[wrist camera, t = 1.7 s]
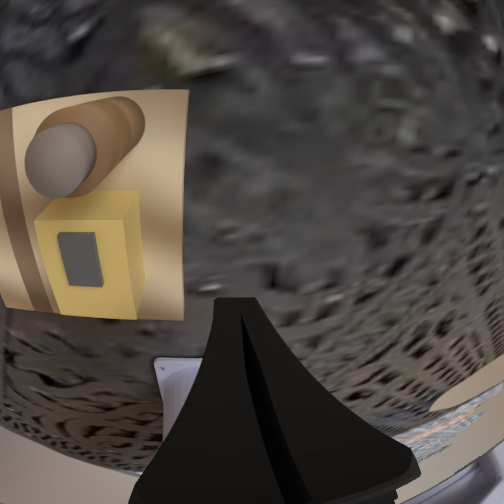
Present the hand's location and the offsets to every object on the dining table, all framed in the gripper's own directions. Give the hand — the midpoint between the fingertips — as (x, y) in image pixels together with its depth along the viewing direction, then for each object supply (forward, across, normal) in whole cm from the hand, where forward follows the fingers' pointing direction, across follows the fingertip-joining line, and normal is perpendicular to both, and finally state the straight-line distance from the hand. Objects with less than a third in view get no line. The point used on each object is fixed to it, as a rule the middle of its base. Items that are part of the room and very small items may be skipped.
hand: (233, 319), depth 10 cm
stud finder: (+5, +6, 0) cm, 8 cm away
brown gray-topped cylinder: (+5, +5, -5) cm, 9 cm away
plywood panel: (+7, +8, -1) cm, 11 cm away
